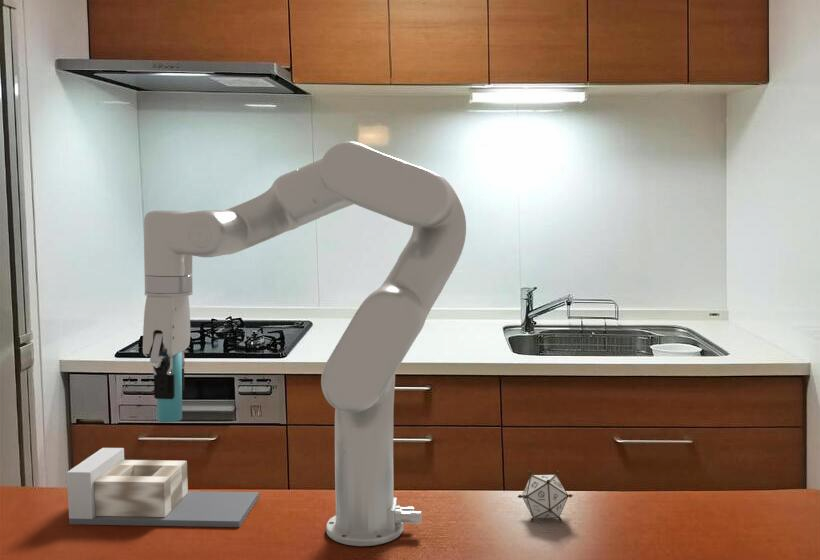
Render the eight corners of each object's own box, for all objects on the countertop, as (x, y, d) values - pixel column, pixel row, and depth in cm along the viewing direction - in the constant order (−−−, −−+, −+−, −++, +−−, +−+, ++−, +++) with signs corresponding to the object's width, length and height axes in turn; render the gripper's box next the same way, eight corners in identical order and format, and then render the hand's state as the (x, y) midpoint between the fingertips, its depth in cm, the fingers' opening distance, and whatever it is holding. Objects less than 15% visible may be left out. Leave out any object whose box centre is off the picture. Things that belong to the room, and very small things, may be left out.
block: (187, 492, 137) (186, 460, 136) (165, 516, 126) (164, 482, 125) (123, 491, 137) (122, 459, 137) (95, 515, 126) (94, 481, 126)
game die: (549, 535, 129) (575, 484, 132) (560, 538, 121) (588, 483, 123) (503, 508, 130) (530, 457, 133) (511, 509, 122) (540, 455, 124)
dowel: (185, 416, 127) (185, 346, 126) (177, 422, 123) (176, 350, 122) (162, 415, 127) (161, 345, 126) (153, 422, 123) (152, 350, 122)
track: (259, 497, 137) (258, 449, 136) (239, 527, 124) (238, 474, 123) (104, 495, 139) (102, 447, 138) (69, 524, 126) (66, 472, 125)
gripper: (164, 280, 132) (165, 382, 133) (125, 290, 115) (126, 407, 117) (206, 281, 131) (207, 384, 133) (173, 291, 115) (174, 408, 116)
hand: (169, 393), depth 125 cm, fingers closed on dowel, 4 cm apart
